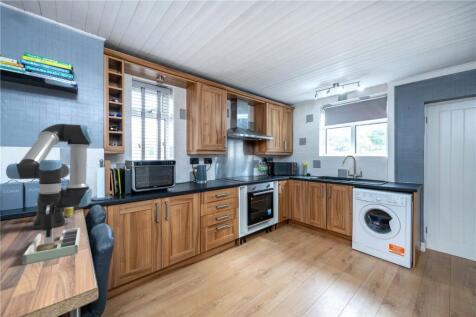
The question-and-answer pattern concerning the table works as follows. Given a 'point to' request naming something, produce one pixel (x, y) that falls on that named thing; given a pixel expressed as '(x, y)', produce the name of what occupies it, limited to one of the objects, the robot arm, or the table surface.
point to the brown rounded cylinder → (45, 247)
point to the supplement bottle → (68, 212)
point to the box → (66, 247)
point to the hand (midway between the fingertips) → (48, 243)
